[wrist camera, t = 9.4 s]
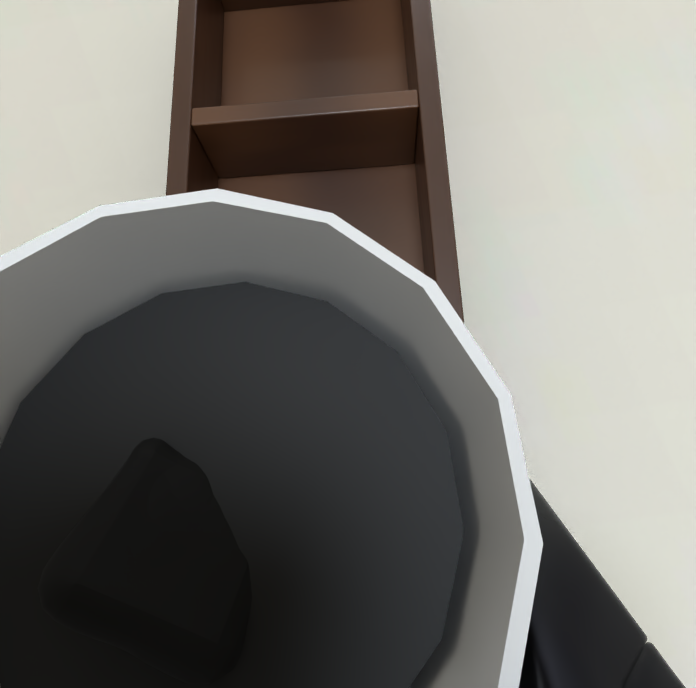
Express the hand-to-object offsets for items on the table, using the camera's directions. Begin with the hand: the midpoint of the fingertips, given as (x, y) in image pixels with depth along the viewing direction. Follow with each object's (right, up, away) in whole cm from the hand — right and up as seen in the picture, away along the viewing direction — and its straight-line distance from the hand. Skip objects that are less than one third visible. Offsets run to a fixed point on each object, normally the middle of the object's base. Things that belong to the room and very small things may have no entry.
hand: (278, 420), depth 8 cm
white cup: (0, -3, +6) cm, 7 cm away
